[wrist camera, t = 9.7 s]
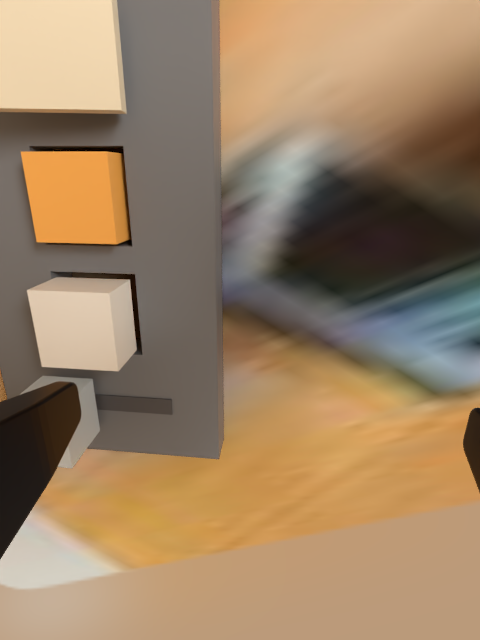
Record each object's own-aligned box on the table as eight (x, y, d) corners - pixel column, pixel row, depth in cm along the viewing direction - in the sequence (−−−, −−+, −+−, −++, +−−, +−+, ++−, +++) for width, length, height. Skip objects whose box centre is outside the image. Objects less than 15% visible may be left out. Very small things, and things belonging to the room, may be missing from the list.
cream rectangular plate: (116, -1, 15) (110, -13, 14) (126, 113, 16) (121, 110, 16) (-43, -7, 15) (-61, -19, 14) (-19, 111, 16) (-34, 107, 15)
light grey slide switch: (92, 378, 22) (61, 410, 19) (100, 430, 23) (72, 468, 20) (42, 375, 22) (4, 406, 19) (52, 426, 23) (18, 463, 20)
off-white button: (129, 279, 20) (109, 293, 17) (136, 350, 21) (118, 371, 19) (56, 277, 20) (26, 290, 18) (67, 346, 22) (41, 366, 19)
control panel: (218, -21, 17) (206, -57, 14) (223, 438, 25) (216, 468, 22) (-56, -8, 18) (-114, -39, 15) (36, 423, 26) (9, 451, 24)
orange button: (128, 154, 19) (106, 151, 17) (136, 236, 20) (116, 244, 18) (52, 154, 19) (20, 151, 17) (64, 234, 21) (36, 242, 18)
